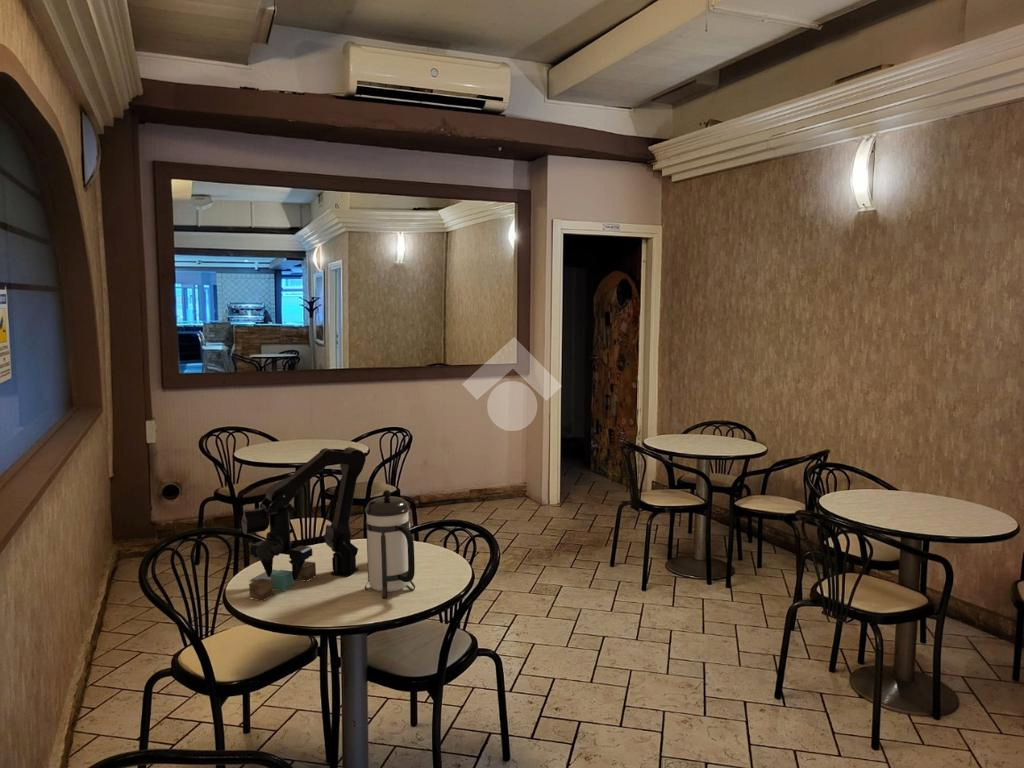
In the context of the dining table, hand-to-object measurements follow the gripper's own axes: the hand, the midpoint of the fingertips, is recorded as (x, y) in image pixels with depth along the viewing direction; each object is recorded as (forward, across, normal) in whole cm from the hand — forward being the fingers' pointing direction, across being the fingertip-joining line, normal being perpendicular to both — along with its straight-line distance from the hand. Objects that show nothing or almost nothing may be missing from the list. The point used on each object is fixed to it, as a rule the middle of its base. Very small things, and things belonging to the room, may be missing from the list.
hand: (282, 578), depth 218 cm
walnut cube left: (+3, -1, -8) cm, 9 cm away
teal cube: (+3, 0, 0) cm, 3 cm away
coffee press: (+3, +33, +8) cm, 34 cm away
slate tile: (+3, -8, +5) cm, 10 cm away
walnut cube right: (+3, +2, +8) cm, 9 cm away
